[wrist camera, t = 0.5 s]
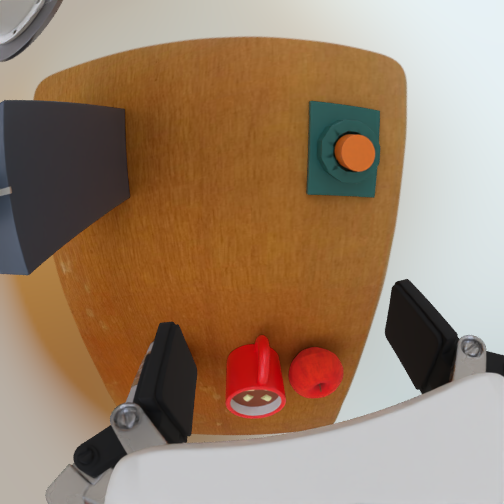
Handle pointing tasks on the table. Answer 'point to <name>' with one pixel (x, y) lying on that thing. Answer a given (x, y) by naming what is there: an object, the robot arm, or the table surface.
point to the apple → (315, 372)
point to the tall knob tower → (56, 176)
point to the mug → (254, 380)
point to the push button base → (323, 149)
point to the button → (355, 152)
